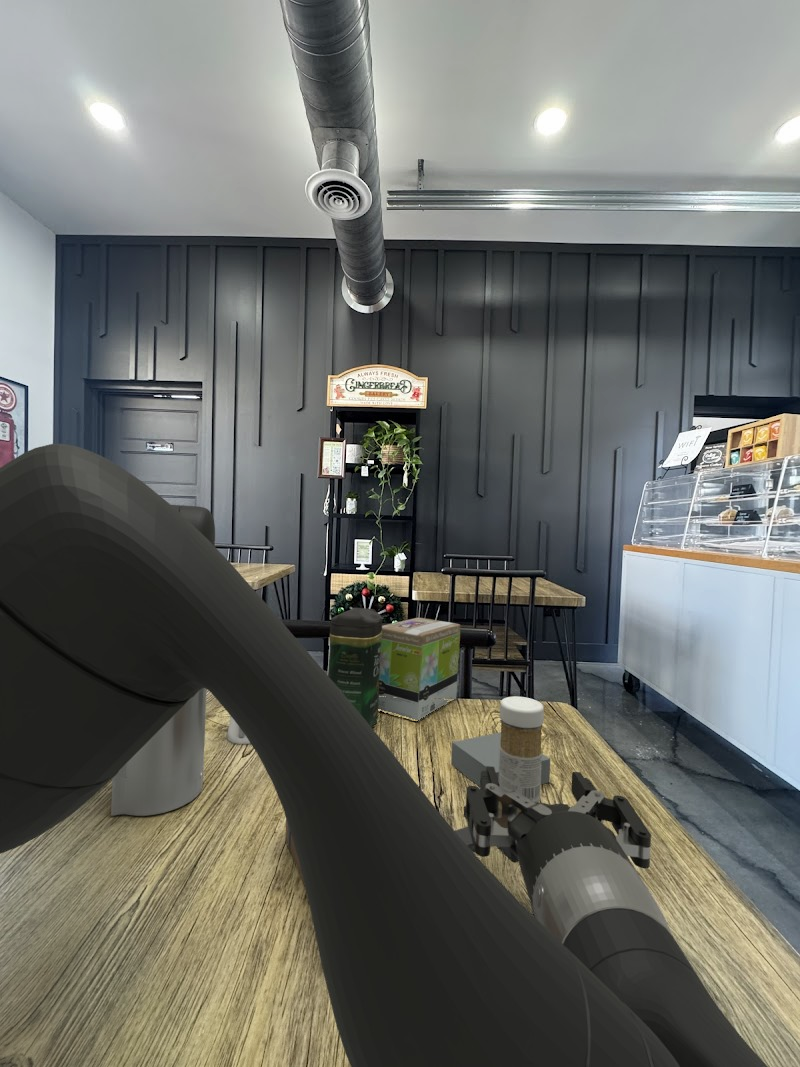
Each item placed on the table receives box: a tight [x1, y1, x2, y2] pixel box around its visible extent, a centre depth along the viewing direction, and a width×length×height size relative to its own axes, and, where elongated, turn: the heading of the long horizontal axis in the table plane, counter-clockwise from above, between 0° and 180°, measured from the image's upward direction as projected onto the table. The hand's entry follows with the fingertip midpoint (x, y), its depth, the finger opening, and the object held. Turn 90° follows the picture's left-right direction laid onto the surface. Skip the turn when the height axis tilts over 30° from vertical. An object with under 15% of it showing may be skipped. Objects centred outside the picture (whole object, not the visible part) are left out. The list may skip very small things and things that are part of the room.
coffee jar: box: [328, 607, 383, 729], centre depth 76 cm, size 10×8×19 cm
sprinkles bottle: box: [498, 696, 545, 826], centre depth 51 cm, size 5×5×14 cm
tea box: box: [378, 617, 461, 721], centre depth 86 cm, size 15×10×15 cm
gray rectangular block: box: [450, 731, 551, 788], centre depth 62 cm, size 9×9×3 cm
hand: (532, 778), depth 47 cm, fingers open, 8 cm apart
